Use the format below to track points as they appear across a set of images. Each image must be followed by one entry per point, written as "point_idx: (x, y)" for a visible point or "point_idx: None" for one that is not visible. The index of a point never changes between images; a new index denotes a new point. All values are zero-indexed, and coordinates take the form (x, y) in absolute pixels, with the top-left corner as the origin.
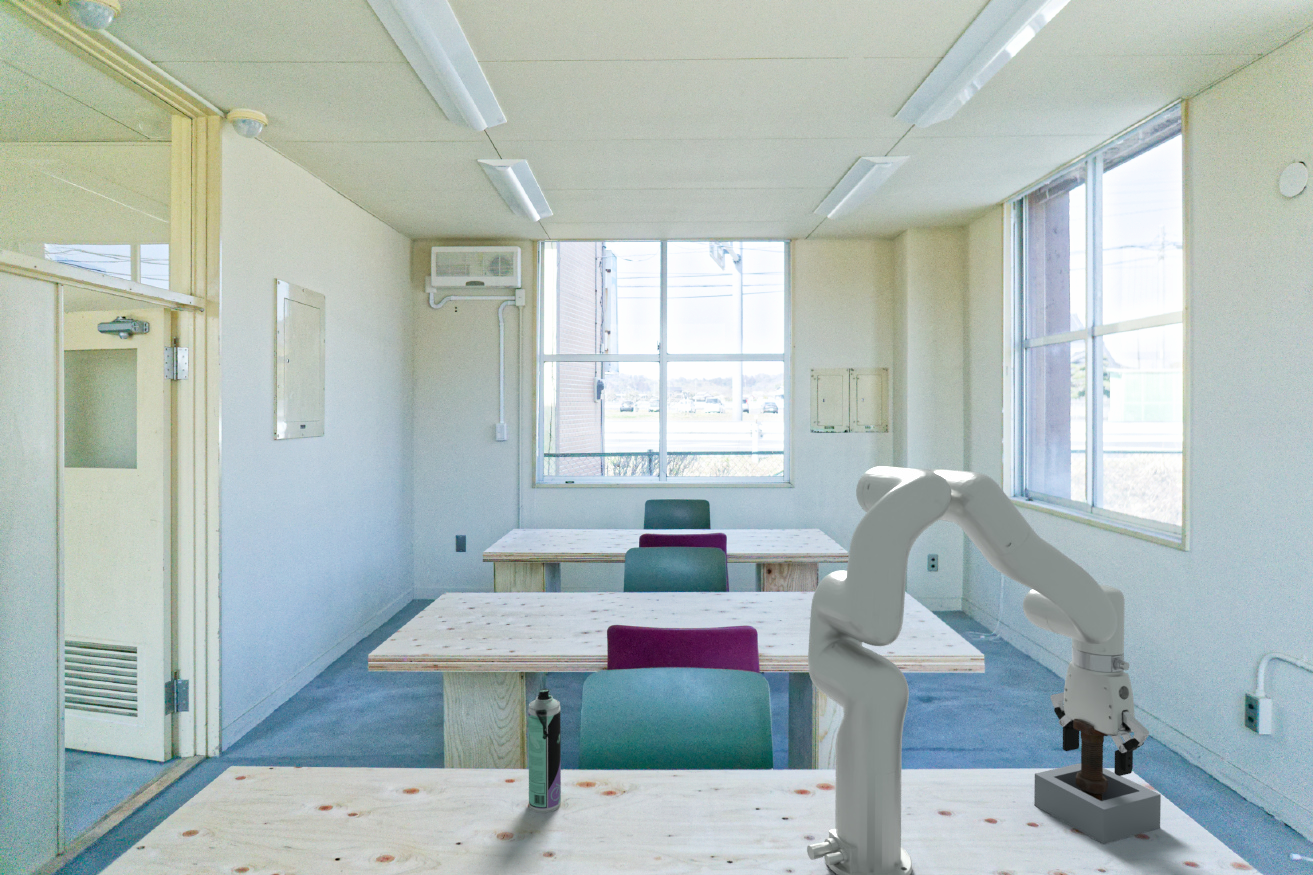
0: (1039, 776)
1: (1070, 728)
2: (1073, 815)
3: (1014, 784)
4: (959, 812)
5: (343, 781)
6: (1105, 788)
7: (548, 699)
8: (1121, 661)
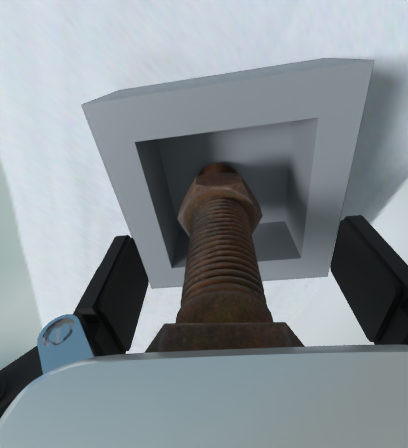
0: (164, 287)
1: (115, 339)
2: None
3: (82, 224)
4: None
5: None
6: (255, 200)
7: None
8: None
